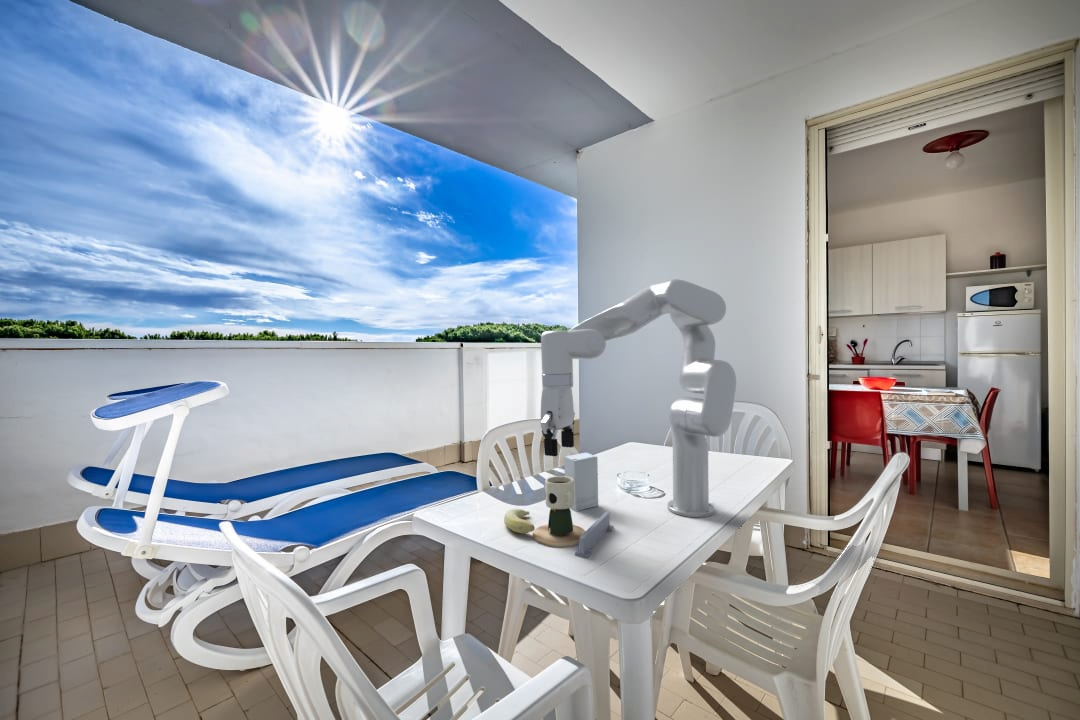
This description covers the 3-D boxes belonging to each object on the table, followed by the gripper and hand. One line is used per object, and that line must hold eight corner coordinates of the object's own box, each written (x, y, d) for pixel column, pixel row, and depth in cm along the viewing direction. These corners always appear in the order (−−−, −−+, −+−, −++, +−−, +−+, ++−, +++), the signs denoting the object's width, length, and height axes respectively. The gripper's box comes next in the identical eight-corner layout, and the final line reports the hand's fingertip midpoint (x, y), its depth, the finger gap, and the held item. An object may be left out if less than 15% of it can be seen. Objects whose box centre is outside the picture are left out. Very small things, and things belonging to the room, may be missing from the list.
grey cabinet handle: (602, 526, 116) (602, 510, 116) (613, 528, 115) (613, 512, 115) (574, 555, 100) (574, 537, 100) (587, 557, 98) (587, 539, 98)
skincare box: (587, 500, 136) (586, 451, 136) (599, 506, 131) (598, 455, 130) (563, 505, 132) (563, 455, 132) (575, 512, 127) (574, 459, 126)
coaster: (547, 522, 119) (547, 519, 119) (593, 530, 113) (593, 527, 113) (523, 541, 108) (523, 538, 108) (573, 551, 102) (573, 548, 102)
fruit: (505, 538, 108) (504, 525, 108) (503, 517, 123) (502, 505, 123) (535, 535, 109) (534, 521, 109) (529, 514, 124) (528, 502, 124)
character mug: (538, 527, 114) (537, 476, 114) (562, 522, 117) (562, 472, 117) (557, 543, 104) (556, 487, 104) (584, 537, 107) (583, 483, 107)
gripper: (558, 378, 119) (560, 443, 120) (527, 384, 104) (529, 458, 104) (585, 378, 116) (586, 445, 116) (556, 384, 100) (558, 460, 101)
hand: (559, 451), depth 110 cm, fingers open, 9 cm apart
